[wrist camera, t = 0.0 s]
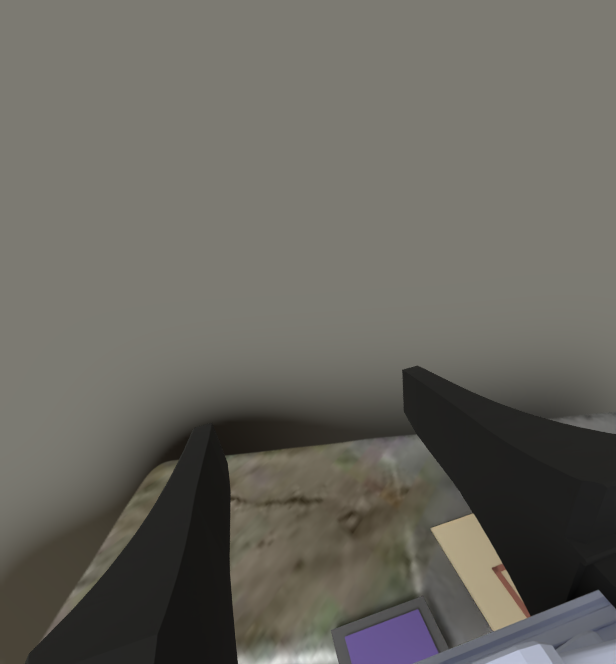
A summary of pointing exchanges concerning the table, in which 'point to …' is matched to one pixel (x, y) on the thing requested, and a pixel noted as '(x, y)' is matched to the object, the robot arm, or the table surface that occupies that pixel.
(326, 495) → the table surface
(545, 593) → the robot arm
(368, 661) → the ink pad
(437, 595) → the table surface
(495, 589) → the sheet
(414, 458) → the table surface
